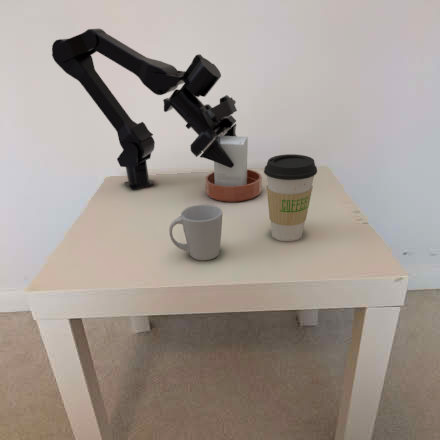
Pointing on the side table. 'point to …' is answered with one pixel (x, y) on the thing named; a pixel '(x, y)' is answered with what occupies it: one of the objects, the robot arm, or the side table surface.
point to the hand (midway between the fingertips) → (238, 160)
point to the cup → (200, 231)
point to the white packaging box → (238, 155)
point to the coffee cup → (289, 194)
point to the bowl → (234, 188)
